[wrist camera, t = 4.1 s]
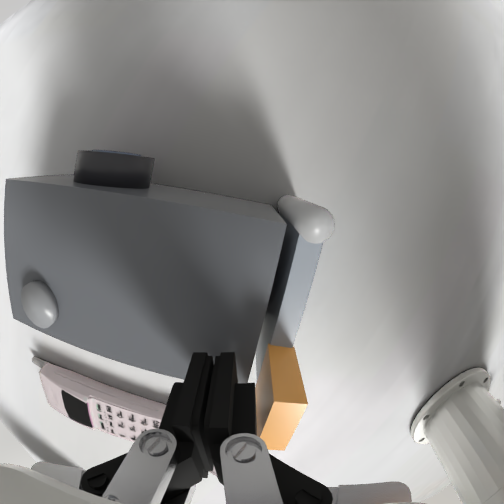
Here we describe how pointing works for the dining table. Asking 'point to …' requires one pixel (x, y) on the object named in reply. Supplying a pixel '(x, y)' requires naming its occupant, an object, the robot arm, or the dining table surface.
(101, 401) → the mobile phone
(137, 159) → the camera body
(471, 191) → the dining table surface
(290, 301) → the side door
